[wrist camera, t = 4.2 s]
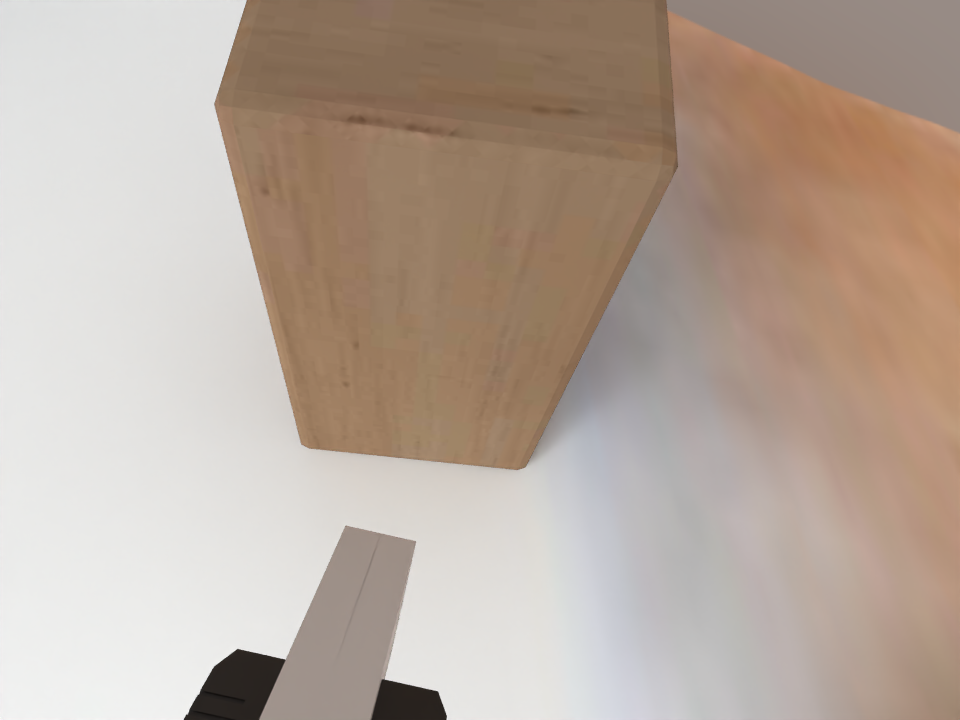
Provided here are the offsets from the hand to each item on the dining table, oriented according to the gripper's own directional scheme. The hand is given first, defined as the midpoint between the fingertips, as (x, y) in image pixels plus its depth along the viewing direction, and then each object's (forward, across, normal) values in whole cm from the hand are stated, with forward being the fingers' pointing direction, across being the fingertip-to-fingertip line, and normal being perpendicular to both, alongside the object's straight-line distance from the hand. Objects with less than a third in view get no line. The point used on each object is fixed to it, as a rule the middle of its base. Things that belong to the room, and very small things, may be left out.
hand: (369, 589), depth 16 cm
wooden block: (+20, -1, -2) cm, 20 cm away
